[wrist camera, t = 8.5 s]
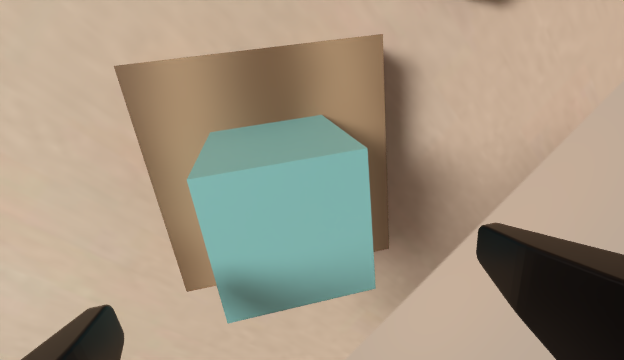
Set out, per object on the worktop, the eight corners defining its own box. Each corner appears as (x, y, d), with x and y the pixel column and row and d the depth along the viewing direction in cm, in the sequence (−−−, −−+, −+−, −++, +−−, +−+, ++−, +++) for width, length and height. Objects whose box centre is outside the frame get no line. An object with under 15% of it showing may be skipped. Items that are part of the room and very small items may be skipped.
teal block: (234, 231, 16) (227, 323, 10) (210, 132, 14) (186, 179, 8) (332, 211, 16) (375, 288, 11) (321, 114, 15) (367, 148, 9)
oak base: (195, 258, 19) (186, 291, 16) (137, 64, 15) (113, 66, 12) (369, 223, 21) (389, 248, 18) (360, 38, 17) (382, 34, 14)
